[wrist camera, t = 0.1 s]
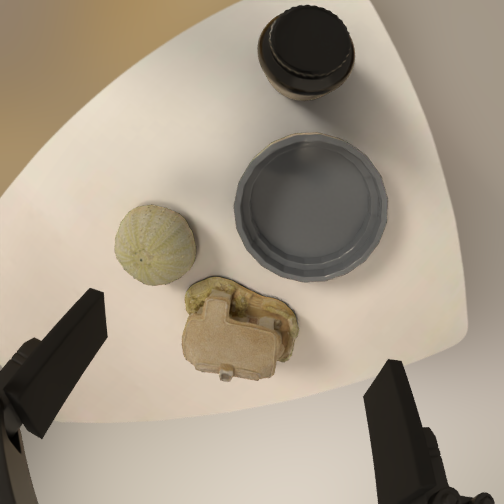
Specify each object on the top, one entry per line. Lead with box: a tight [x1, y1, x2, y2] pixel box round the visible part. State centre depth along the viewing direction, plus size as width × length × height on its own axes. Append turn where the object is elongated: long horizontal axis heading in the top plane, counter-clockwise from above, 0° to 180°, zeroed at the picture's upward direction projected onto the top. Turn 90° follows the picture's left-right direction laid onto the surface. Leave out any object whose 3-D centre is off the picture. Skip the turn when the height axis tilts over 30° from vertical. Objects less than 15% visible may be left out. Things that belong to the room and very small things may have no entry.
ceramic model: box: [182, 277, 299, 382], centre depth 33 cm, size 14×11×10 cm
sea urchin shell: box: [115, 205, 196, 286], centre depth 33 cm, size 9×8×8 cm
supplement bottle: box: [258, 5, 355, 101], centre depth 20 cm, size 7×7×12 cm
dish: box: [234, 132, 388, 282], centre depth 29 cm, size 14×14×4 cm
